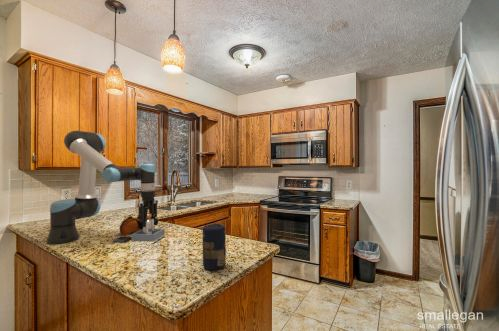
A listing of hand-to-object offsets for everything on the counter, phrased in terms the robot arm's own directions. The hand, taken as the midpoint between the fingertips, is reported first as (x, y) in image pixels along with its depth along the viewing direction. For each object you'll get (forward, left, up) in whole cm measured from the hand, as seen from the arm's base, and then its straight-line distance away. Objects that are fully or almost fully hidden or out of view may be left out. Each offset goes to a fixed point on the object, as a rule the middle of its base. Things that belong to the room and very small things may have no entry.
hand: (148, 231), depth 142 cm
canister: (+48, -35, -5) cm, 59 cm away
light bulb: (0, 0, -3) cm, 3 cm away
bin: (0, 0, -5) cm, 5 cm away
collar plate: (-12, -6, -5) cm, 15 cm away
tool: (-13, +14, -5) cm, 20 cm away
